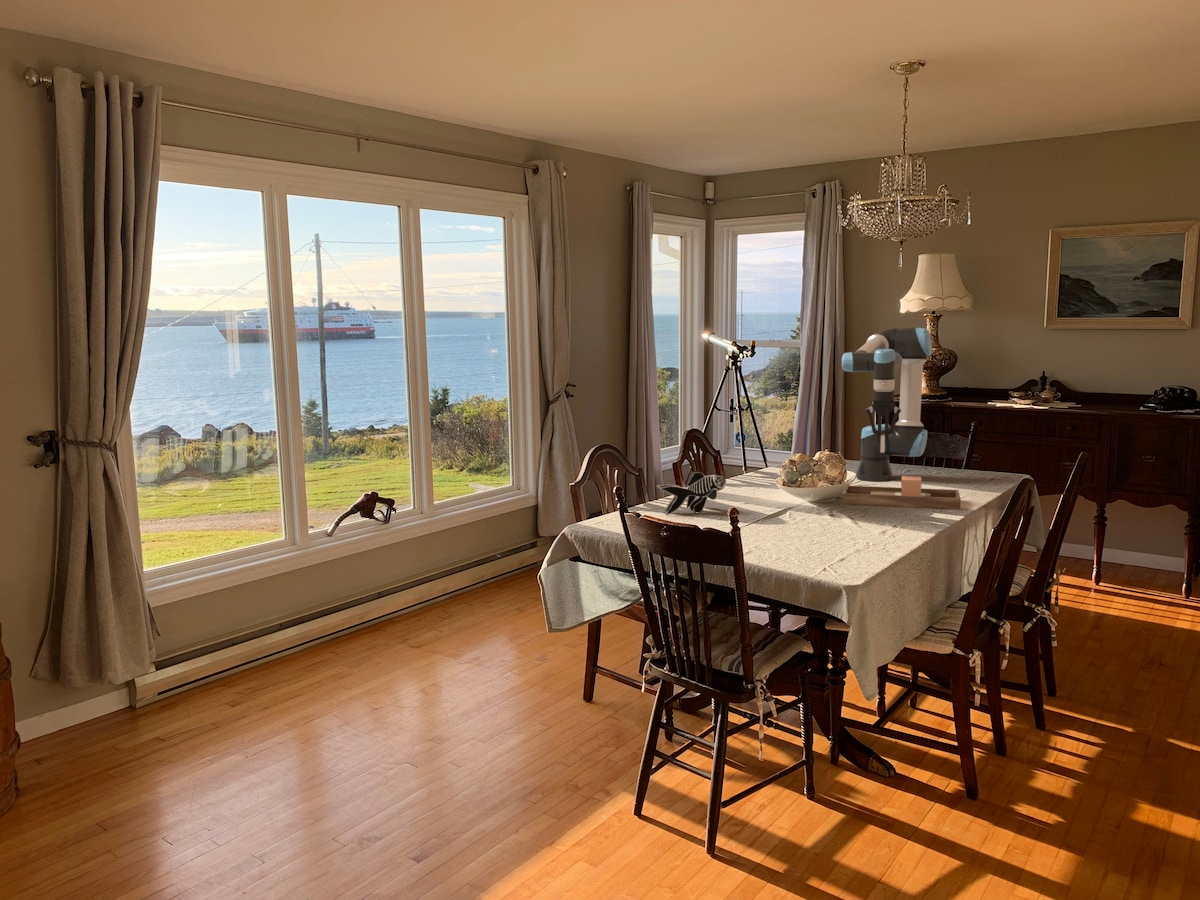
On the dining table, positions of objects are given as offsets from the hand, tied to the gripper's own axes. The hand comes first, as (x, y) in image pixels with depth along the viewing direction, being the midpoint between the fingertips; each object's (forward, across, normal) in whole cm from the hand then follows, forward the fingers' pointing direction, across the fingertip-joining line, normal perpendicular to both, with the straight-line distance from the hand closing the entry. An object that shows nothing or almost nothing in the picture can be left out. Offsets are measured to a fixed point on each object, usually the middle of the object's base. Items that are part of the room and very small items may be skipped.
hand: (882, 451), depth 344 cm
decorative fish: (+19, -67, -34) cm, 77 cm away
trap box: (+19, +7, -1) cm, 21 cm away
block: (+17, +11, -1) cm, 20 cm away
